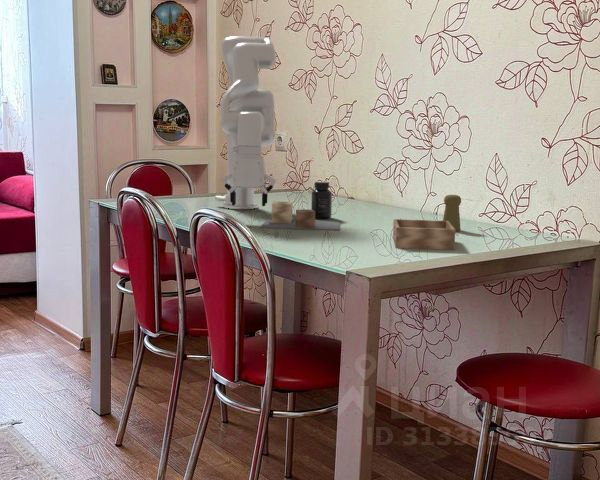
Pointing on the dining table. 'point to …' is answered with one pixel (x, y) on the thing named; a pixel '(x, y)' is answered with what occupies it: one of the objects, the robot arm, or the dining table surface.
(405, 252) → the dining table surface
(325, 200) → the supplement bottle
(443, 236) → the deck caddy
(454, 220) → the cork
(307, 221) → the walnut block
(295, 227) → the mat
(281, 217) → the maple block
